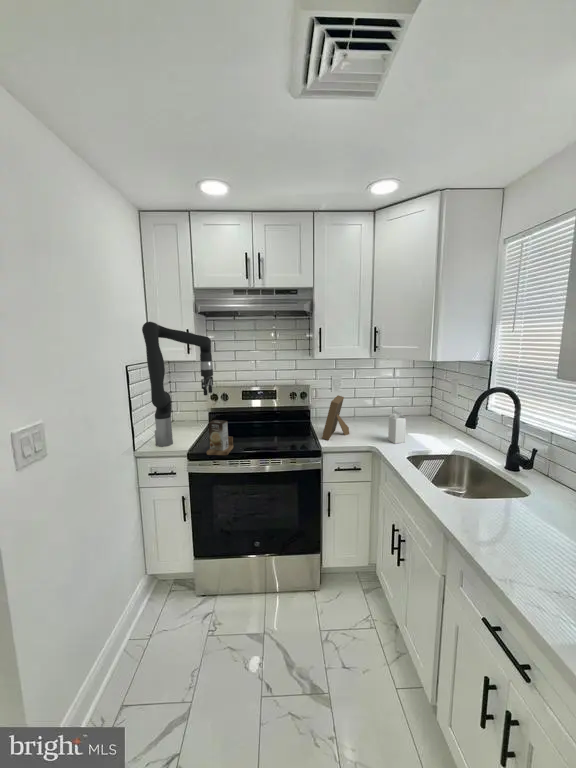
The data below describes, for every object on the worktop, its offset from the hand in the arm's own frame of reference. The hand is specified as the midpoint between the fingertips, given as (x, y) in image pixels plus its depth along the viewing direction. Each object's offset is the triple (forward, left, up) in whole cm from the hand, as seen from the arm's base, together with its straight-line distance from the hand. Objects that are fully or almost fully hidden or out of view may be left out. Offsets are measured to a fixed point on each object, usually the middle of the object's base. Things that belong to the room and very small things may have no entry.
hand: (208, 394), depth 205 cm
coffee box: (+13, -21, -28) cm, 37 cm away
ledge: (+13, -20, -30) cm, 38 cm away
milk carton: (+117, +3, -30) cm, 121 cm away
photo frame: (+81, +13, -30) cm, 87 cm away
